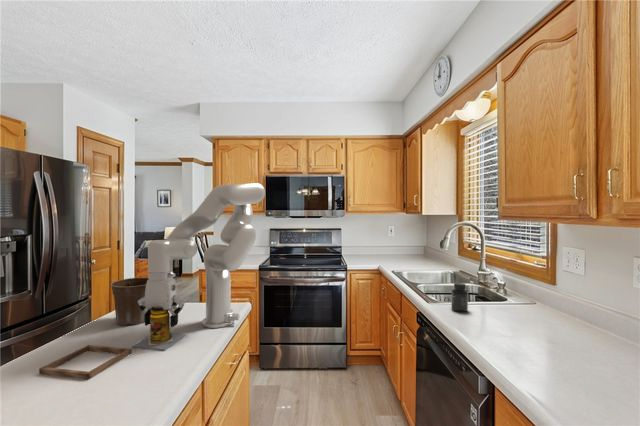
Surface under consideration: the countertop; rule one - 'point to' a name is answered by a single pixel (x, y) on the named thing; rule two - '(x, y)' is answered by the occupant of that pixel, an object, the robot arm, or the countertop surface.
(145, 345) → the mat
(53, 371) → the wooden square frame
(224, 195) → the robot arm
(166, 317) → the condiment
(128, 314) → the plant pot
